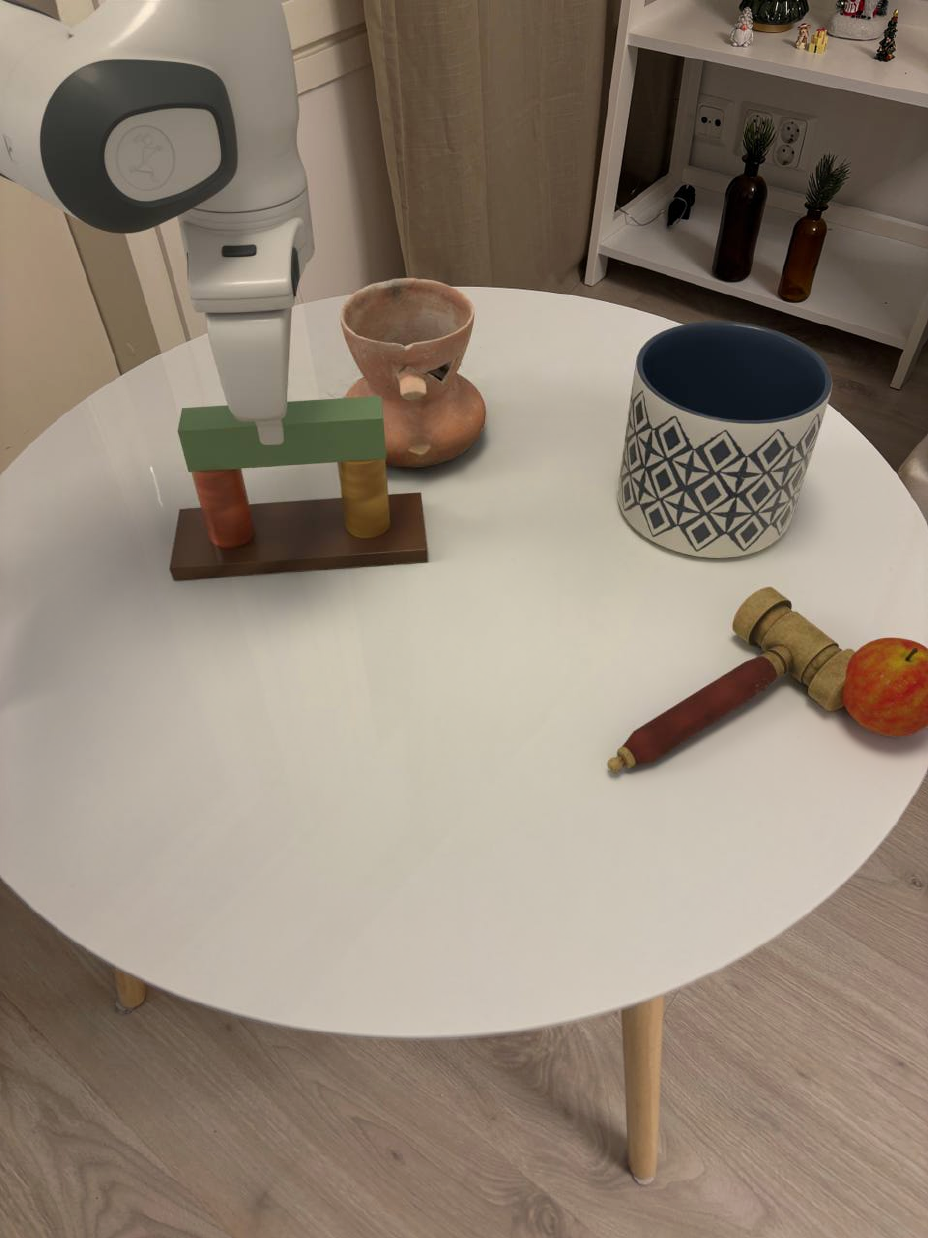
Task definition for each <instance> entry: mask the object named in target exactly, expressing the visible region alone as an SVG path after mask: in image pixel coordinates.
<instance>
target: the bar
mask: <svg viewBox="0 0 928 1238" xmlns="http://www.w3.org/2000/svg"><path fill="white" fill-rule="evenodd" d="M283 423H284V429H285V430H284V442H283V443H282V444H279V445H264V444H262V443H261V442H260V439H259V433H258V428H257V425H256V423H255V422H241V421H238V420H237V419H236V418H235V417H234V416H233V414H232V413H231V411H230V409H229V407H228V404H226V405H212V406H196V407H195V406H194V407H182V408H181V410H180V416H179V422H178V427H177V435H178V439H179V442H180V445H181V450H182V452H183V458H184V461H185V464H186V469H187V471H188V473H191V472H198V471H214V470H229V469H241V470H244V469H256V468H272V467H286V466H301V465H302V466H303V465H304V466H305V465H317V464H334V463H337V462H349V461H364V460H379V459H386V445H385V432H384V420H383V408H382V396H371V397H355V398H344V397H341V398H340V397H339V398H324V399H309V400H292V401H287V412H286V416H285V417H284V418H283Z"/></svg>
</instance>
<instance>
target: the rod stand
mask: <svg viewBox="0 0 928 1238" xmlns="http://www.w3.org/2000/svg"><path fill="white" fill-rule="evenodd" d="M336 463H337V470H338V478H339V486H340V494H341V497H333V498H332V497H331V498H319V499H316V498H315V499H303V500H289V501H275V502H262V503H261V502H260V503H250V502H249V496H248V493H247V492H248V491H247V488H246V484H245V479H244V474H243V469H229V470H214V471H198V472H190V473H191V477H192V480H193V483H194V488H195V491H196V495H197V498H198V503H199V505H200V506H199V507H187V508H179V509H178V510H179V511H178V516H177V522H176V528H175V533H174V539H173V545H172V549H171V550H172V551H171V557H170V562H169V572H170V576H171V578H172V581H173V582H174V581H186V580H202V579H214V578H226V577H242V576H253V575H255V576H256V575H267V574H280V573H294V572H295V573H296V572H297V573H298V572H309V571H322V570H334V569H335V570H336V569H337V570H338V569H349V568H351V569H352V568H361V567H362V568H363V567H376V566H377V567H378V566H389V565H403V564H416V563H428V562H429V556H428V554H429V553H428V543H427V535H426V525H425V515H424V508H423V507H424V506H423V499H422V492H419V491H417V492H405V493H390V494H389V487H388V473H387V465H386V462H385V459H379V460H364V461H349V462H336Z"/></svg>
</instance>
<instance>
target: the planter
mask: <svg viewBox="0 0 928 1238" xmlns="http://www.w3.org/2000/svg"><path fill="white" fill-rule="evenodd" d="M635 359H636V360H635V366H634V372H633V378H632V386H631V393H630V401H629V406H628V413H627V420H626V427H625V435H624V443H623V450H622V457H621V463H620V472H619V479H618V486H617V502H618V505H619V508H620V510H621V512H622V514H623V516H624V517H625V519H626V520H627V522H628V523H629V524H630V525H631V526H632V527H633V529H635V530H636V531H637V532H638V533H640V534H641V535H642V536H643V537H645V538H646V539H648V540H650V541H651V542H653V543H655V544H657V545H659V546H661V547H663V548H665V549H668V550H671V551H674V552H677V553H680V554H685V555H689V556H693V557H700V558H707V559H709V558H710V559H726V558H736V557H737V558H738V557H742V556H747V555H751V554H754V553H756V552H759V551H762V550H764V549H766V548H768V547H770V546H771V545H773V544H774V543H775V542H777V541H778V540H779V539H781V537H782V536H783V535H784V534H785V533H786V531H787V530H788V528H789V525H790V523H791V521H792V518H793V515H794V512H795V509H796V506H797V502H798V499H799V497H800V493H801V490H802V487H803V484H804V480H805V477H806V474H807V471H808V469H809V465H810V462H811V458H812V455H813V453H814V449H815V446H816V442H817V439H818V436H819V433H820V429H821V428H822V427H821V426H822V423H823V420H824V417H825V414H826V410H827V407H828V404H829V401H830V397H831V394H832V389H833V376H832V373H831V371H830V369H829V366H828V364H827V363H826V362H825V361H824V359H823V358H822V357H821V356H820V355H819V354H818V353H817V352H816V351H815V350H814V349H813V348H811V347H810V346H808V345H807V344H806V343H804V342H802V341H800V340H798V339H796V338H794V337H793V336H790V335H788V334H786V333H783V332H780V331H778V330H774V329H772V328H769V327H765V326H760V325H756V324H751V323H745V322H737V321H727V320H724V321H723V320H722V321H721V320H710V321H707V320H706V321H696V322H689V323H684V324H680V325H675V326H673V327H670V328H668V329H665V330H662V331H660V332H658V333H657V334H655V335H653V336H652V337H650V338H649V339H648V340H647V341H646V342H645V343H644V344H643V345H642V347H641V348H640V349H639V351H638V353H637V355H636V358H635Z"/></svg>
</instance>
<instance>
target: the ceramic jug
mask: <svg viewBox="0 0 928 1238" xmlns="http://www.w3.org/2000/svg"><path fill="white" fill-rule="evenodd" d="M339 318H340V319H339V320H340V325H341V330H342V333H343V337H344V340H345V342H346V345H347V347H348V350H349V352H350V354H351V356H352V358H353V361H354V363H355V365H356V366H357V369H358V370H359V372H360V374H361V375H362V376H363V377H361V378H359V379H358V380H357V381H355V383H353V384H352V386H351V387H350V388H349V389H348V390H347V392H346V393H345V395H344V397H343V398H355V397H371V396H382V408H383V420H384V432H385V445H386V459H385V462H386V466H393V467H398V468H422V467H423V468H424V467H428V466H429V467H430V466H434V465H438V464H441V463H444V462H447V461H449V460H452V459H454V458H456V457H458V456H459V455H461V454H463V453H464V452H465V451H467V450H468V449H469V448H470V447H471V446H472V445H474V443H475V442H476V441H477V440H478V438H479V437H480V435H481V434H482V431H483V429H484V426H485V424H486V419H487V418H486V417H487V408H486V403H485V400H484V397H483V395H482V394H481V392H480V391H479V389H478V388H477V387H476V385H474V384H473V383H472V382H471V381H470V380H469V379H468V378H466V377H464V376H463V375H462V374H460V373H458V372H459V369H460V367H461V364H462V362H463V359H464V357H465V354H466V351H467V349H468V347H469V343H470V340H471V336H472V332H473V327H474V324H475V323H474V322H475V306H474V305H473V303H472V301H471V300H470V298H468V297H467V296H466V295H465V294H464V292H462V291H460V290H459V289H457V288H455V287H454V286H453V287H452V286H450V285H449V284H446V283H443V282H440V281H438V280H434V279H426V278H420V279H419V278H416V277H402V278H392V279H388V280H385V281H380V282H373V283H371V284H369V285H367V286H364V287H363V288H361V289H359V290H357V291H355V292H353V294H351V295H350V296H349V298H348V299H346V300H345V301H344V303H343V304H342V305H341V309H340V313H339Z"/></svg>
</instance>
